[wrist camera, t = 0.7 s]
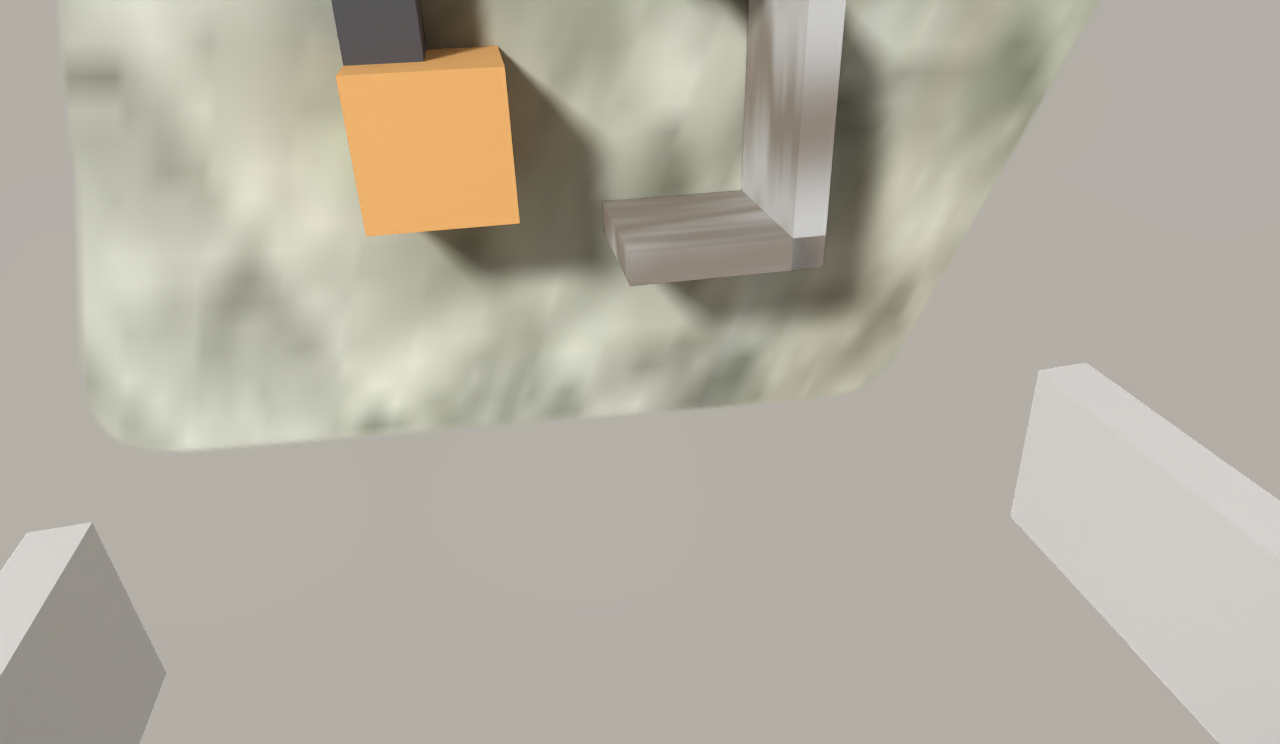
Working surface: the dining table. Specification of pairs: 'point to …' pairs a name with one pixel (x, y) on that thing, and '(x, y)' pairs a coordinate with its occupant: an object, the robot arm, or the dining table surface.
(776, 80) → the rail
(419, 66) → the grey and orange bar
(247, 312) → the dining table surface
